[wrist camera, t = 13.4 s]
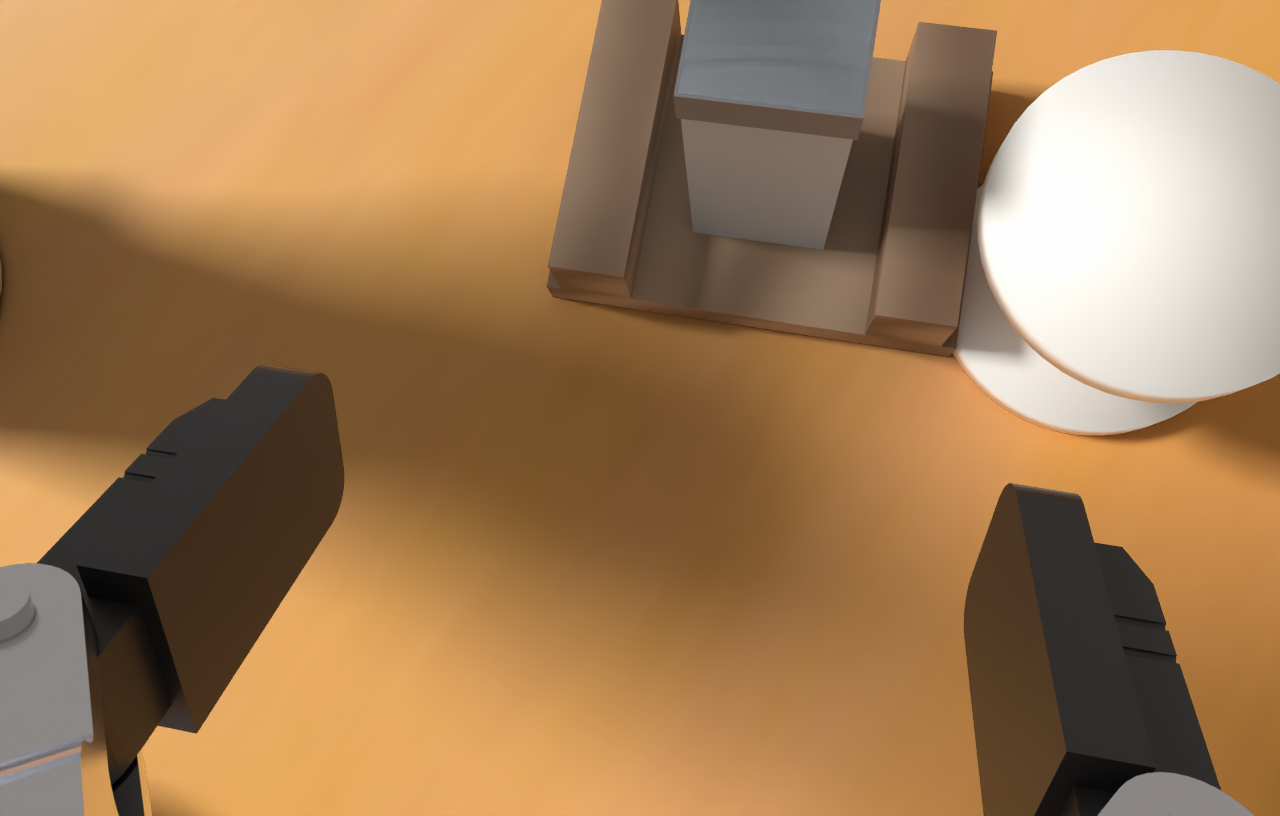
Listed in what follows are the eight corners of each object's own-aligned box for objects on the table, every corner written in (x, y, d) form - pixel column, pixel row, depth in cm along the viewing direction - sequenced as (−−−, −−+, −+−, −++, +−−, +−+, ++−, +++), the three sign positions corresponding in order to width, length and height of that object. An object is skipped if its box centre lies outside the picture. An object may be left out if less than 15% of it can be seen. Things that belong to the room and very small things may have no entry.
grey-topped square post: (825, 253, 34) (863, 118, 24) (689, 234, 35) (673, 96, 25) (844, 125, 35) (888, -55, 25) (711, 109, 36) (703, -73, 26)
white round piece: (879, 252, 35) (914, 171, 29) (1117, 103, 36) (1209, -14, 29) (1050, 492, 33) (1133, 467, 27) (1301, 333, 34) (1448, 268, 27)
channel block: (552, 296, 36) (532, 263, 33) (604, 42, 38) (590, -16, 34) (948, 356, 34) (974, 329, 31) (984, 88, 36) (1012, 32, 32)
